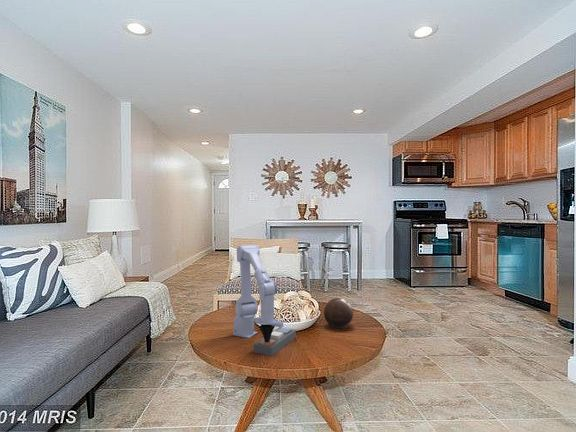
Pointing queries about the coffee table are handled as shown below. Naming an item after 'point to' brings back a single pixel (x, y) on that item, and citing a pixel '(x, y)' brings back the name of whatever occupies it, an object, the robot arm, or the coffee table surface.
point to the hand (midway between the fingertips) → (267, 341)
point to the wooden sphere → (338, 313)
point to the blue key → (284, 330)
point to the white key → (276, 335)
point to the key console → (276, 346)
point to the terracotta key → (267, 343)
